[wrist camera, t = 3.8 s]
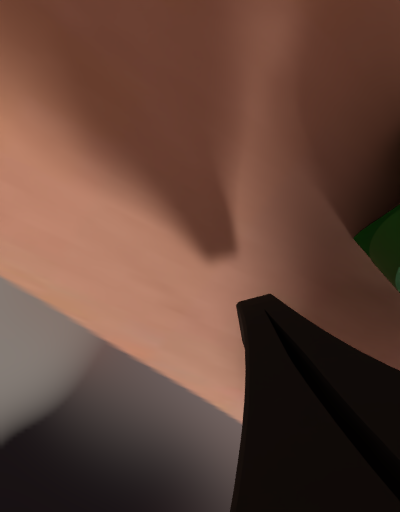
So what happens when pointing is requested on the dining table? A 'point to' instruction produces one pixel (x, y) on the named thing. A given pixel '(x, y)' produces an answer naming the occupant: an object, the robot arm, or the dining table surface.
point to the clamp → (384, 244)
